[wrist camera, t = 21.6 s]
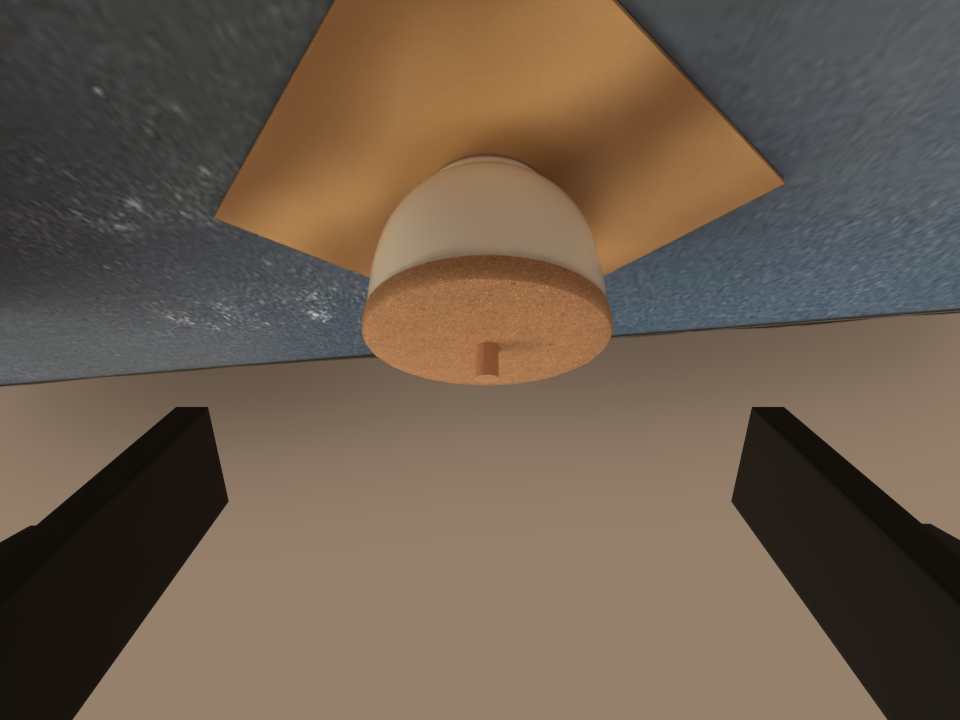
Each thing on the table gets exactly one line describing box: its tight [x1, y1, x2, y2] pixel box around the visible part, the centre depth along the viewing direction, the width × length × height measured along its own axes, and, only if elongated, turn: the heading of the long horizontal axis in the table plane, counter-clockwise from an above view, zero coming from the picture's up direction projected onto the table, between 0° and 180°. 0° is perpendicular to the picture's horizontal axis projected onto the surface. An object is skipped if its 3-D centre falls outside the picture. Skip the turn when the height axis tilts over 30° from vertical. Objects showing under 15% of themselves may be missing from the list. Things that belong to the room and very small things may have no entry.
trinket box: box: [362, 156, 613, 385], centre depth 24 cm, size 11×11×9 cm
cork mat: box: [214, 0, 785, 278], centre depth 26 cm, size 20×20×1 cm
